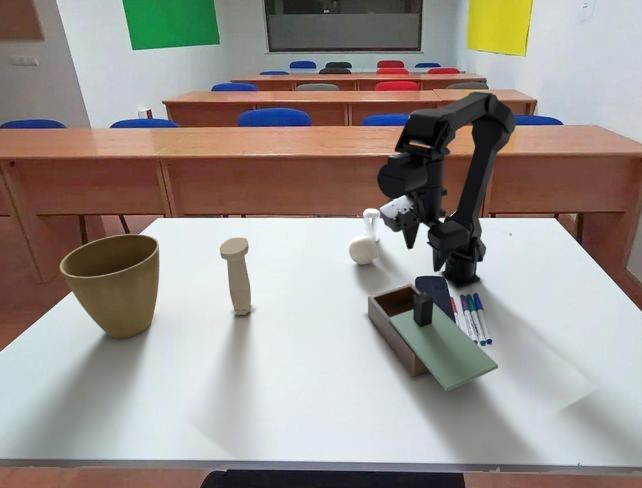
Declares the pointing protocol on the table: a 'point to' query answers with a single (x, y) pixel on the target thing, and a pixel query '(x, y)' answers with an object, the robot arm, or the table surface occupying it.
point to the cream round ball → (363, 250)
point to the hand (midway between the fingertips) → (422, 259)
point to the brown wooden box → (380, 313)
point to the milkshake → (371, 223)
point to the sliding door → (441, 344)
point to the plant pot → (116, 281)
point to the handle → (237, 273)
